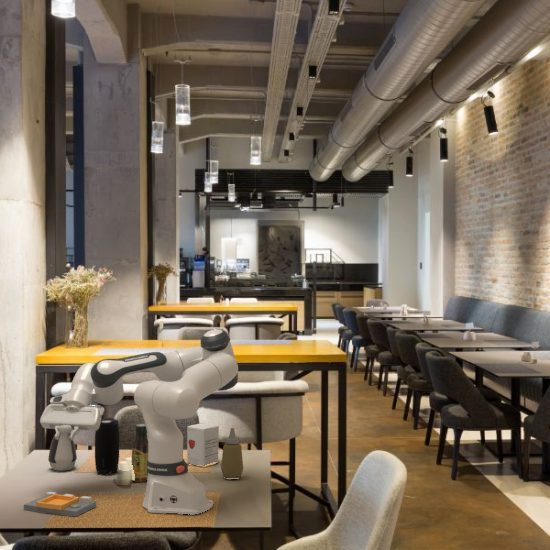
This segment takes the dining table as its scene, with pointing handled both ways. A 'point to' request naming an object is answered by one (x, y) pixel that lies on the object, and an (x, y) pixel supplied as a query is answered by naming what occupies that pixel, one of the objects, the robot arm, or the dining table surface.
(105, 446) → the portable speaker
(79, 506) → the panel
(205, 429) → the supplement box
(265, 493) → the dining table surface
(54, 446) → the black rounded piece
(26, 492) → the dining table surface
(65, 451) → the salt shaker
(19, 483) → the dining table surface
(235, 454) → the squeeze bottle
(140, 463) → the sauce bottle
